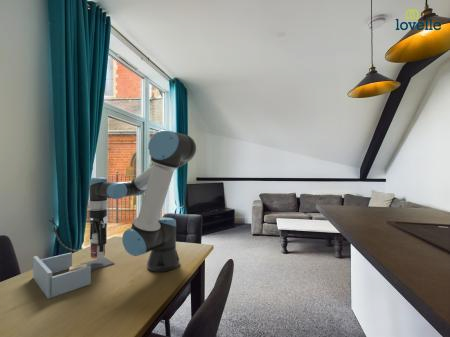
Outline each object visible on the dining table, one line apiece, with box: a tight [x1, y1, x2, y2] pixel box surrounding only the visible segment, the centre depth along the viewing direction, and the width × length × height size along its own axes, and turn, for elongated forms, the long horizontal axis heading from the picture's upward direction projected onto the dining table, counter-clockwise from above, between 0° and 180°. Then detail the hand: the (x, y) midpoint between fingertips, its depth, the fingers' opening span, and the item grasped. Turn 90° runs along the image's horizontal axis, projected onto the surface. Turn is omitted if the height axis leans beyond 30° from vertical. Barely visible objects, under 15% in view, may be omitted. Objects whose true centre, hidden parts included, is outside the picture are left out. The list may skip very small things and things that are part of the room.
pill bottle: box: [90, 233, 106, 260], centre depth 112 cm, size 6×6×11 cm
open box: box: [32, 252, 92, 299], centre depth 95 cm, size 24×14×9 cm, turn 50°
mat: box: [80, 256, 115, 272], centre depth 112 cm, size 11×11×1 cm
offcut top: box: [68, 263, 87, 272], centre depth 100 cm, size 6×4×2 cm, turn 122°
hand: (97, 256), depth 112 cm, fingers closed on pill bottle, 6 cm apart
